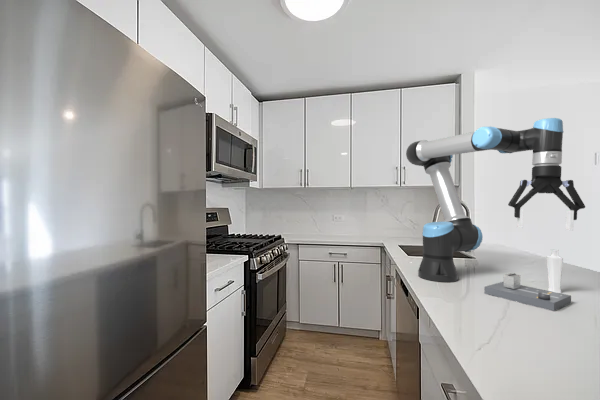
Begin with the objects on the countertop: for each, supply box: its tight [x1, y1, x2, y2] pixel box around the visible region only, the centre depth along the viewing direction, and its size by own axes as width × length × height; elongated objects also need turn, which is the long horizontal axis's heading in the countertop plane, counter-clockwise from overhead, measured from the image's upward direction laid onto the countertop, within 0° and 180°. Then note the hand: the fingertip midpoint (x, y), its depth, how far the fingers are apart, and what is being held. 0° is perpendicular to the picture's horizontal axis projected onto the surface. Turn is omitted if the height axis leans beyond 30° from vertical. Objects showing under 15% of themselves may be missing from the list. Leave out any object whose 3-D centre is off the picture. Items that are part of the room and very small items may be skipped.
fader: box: [503, 272, 521, 289], centre depth 99 cm, size 3×5×4 cm, turn 121°
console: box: [483, 281, 572, 312], centre depth 96 cm, size 19×14×4 cm
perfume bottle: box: [546, 249, 564, 294], centre depth 104 cm, size 5×4×15 cm
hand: (544, 228), depth 97 cm, fingers open, 13 cm apart
